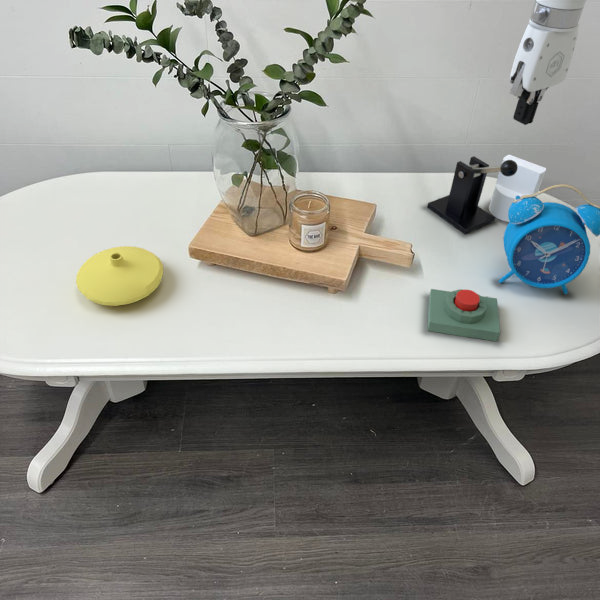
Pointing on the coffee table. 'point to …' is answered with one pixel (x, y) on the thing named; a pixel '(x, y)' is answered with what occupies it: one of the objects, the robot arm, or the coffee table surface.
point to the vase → (119, 275)
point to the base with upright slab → (515, 186)
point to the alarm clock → (548, 240)
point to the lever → (497, 168)
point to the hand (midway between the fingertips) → (522, 120)
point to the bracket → (464, 199)
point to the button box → (463, 316)
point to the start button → (467, 300)
